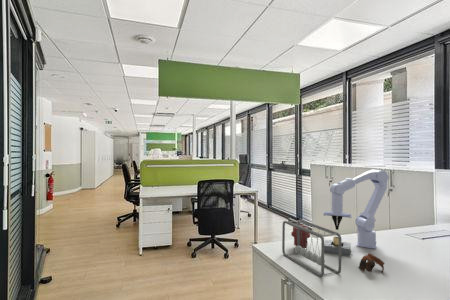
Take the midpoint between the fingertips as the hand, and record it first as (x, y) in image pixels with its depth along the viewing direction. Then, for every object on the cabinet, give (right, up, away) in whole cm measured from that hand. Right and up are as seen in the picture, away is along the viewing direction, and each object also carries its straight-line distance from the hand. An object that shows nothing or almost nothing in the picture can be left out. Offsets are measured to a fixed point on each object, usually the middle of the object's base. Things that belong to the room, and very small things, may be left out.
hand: (337, 229), depth 158 cm
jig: (-3, -9, -8) cm, 13 cm away
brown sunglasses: (+2, -9, -33) cm, 35 cm away
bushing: (-3, -9, -8) cm, 13 cm away
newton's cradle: (-24, -9, -26) cm, 36 cm away
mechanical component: (-22, -9, -4) cm, 24 cm away
